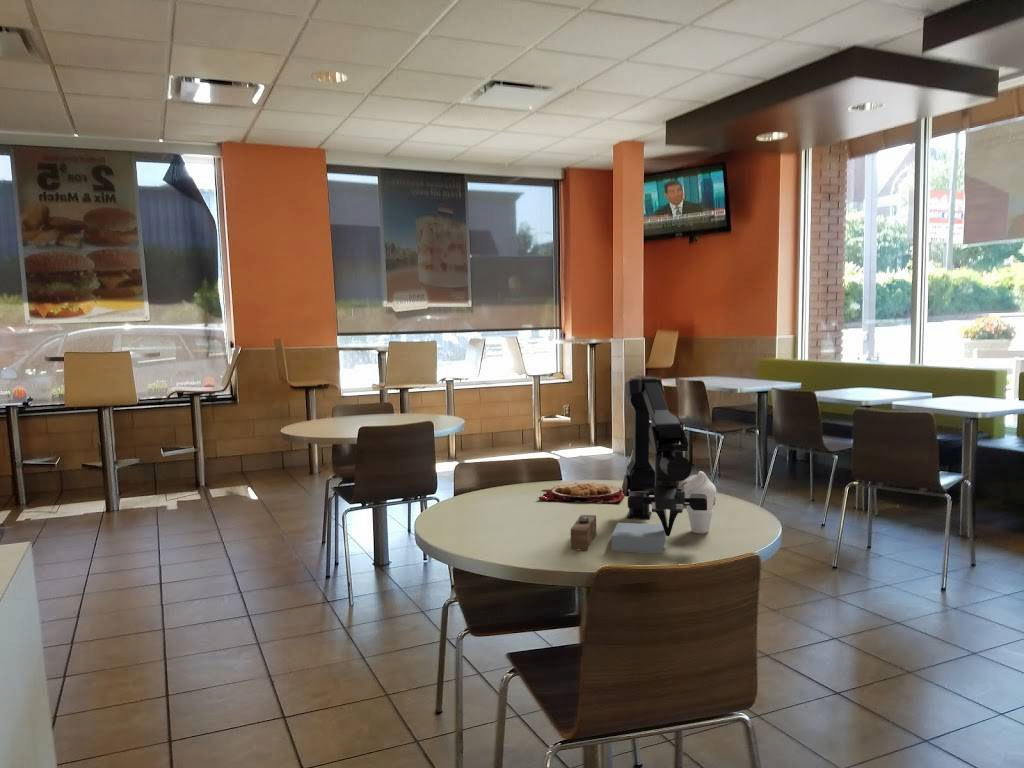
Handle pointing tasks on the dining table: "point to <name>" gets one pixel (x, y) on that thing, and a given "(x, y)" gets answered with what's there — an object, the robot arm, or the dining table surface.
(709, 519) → the soft serve ice cream cone
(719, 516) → the dining table surface
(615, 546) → the blue-grey square block
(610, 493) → the plate with food
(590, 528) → the walnut bench dog
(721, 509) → the dining table surface
